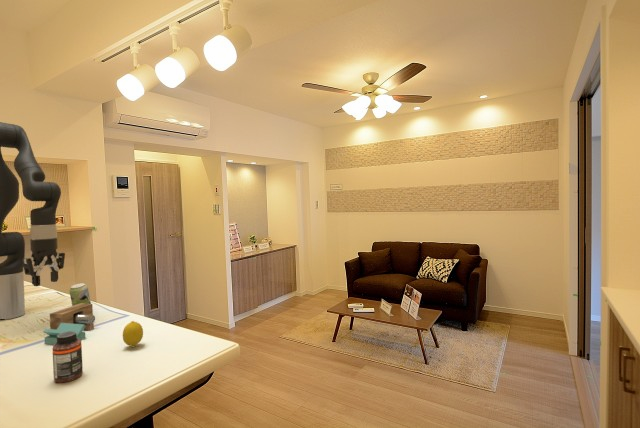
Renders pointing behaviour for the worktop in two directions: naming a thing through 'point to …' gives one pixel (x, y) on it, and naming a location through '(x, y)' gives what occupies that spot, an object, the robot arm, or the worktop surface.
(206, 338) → the worktop surface
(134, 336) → the lemon
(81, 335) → the v block
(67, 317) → the brown wooden block
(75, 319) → the axle
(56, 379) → the supplement bottle
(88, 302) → the beverage can
